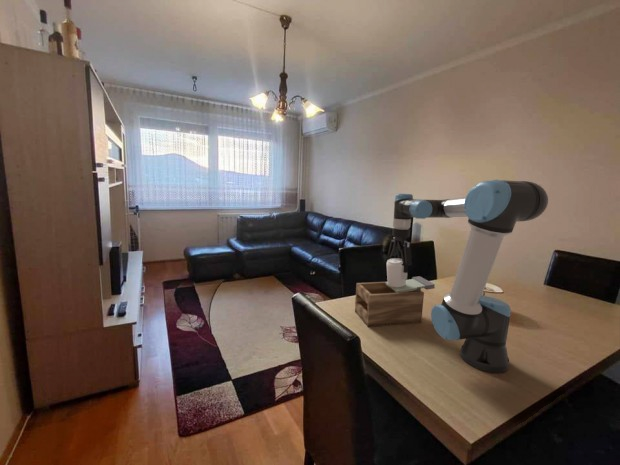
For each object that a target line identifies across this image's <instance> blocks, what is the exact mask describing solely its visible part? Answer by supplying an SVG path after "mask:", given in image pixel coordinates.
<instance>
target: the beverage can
mask: <svg viewBox="0 0 620 465" xmlns="http://www.w3.org/2000/svg"><path fill="white" fill-rule="evenodd" d="M402 264H403V262H402V258H398V257H396V258H392V259H390V258H389V259H387V261H386V265H385V266H386V276H387V278H386V280H387V282H388V285H389V286H391V287H395V288H399V287H402V286H405V285H406V280H407V279H401V268H402Z"/></svg>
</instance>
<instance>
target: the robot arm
mask: <svg viewBox="0 0 620 465" xmlns="http://www.w3.org/2000/svg"><path fill="white" fill-rule="evenodd" d="M393 205H394V206H393V207H394V208H393V222H392V227H393V228H392V233H391V234H392V237H390V244H389V248H388V253H387V256H388V257H389V259H392V258H397V255H398V252H400V255H401V259H402V262H403V264H402V268H401V279H406V280H408V273H409V266H411V265H413V262H412V250H411V249H412V248H411V247H412V242H410V241H408V238H410V236H411V229H410V228H411V223H412V218H415V219H424V220H425V219H429V218H431V219H432V218H433V219H434V218H439V219H440V218H443V219H445V218H446V219H450V218H464V217H467V218H468V220H467V224H469V226H470V228H471V230H469V234H468V239H467V240H466V244H465V248H464V249H463V253H462V256H461V259H460V262H459V265H458V269H457V271H456V275H455V279H454V281H453V284H452V286H451V290H450V292H446V293H445V294H444V296H443V299H442V302H441V304H440V303H439V304H437V303H436V304H435V305H433V307H431V311H430V318H431V322H432V326H433V327H434V330H435V331H436V333H437V334H438V335H439V336H440V338H442V339H444V340H446V341H458V340H464V339H465V340H464V341H463V344H462V345H461V346H460V353H459V355H460V357H461V359H462V360H463V361H464V362H465V363H466V364H468V365H470V366H472V367H474V368H475V369H477V370H480V371H483V372H488V373H492V374H502V373H506V372H507V371H508V370H509V368H510V358H509V356H508V351H507V350H508V349H507V339H508V332H509V326H510V322H511V321H510V319H511V316H512V315H511V310H512V309H511V307H510V305H509V304H508V303H506V302H505V301H503V300H501V299H498V298H495V297H493V296H492V297H491V296H488V295H483V292H484V290H485V287H486V284H487V281H488V280H489V277H490V274H491V273H492V268H493V266H494V263H495V261H496V258H497V256H498V253H499V250H500V248H501V244H502V243H503V239H504V237H505V236H507V235H510V234H513V230H514V229H515V227H516V226H515V225H516V223H517V222H529V221H532V220H534V219H536V218H538V217H540V216H541V215H542V214H543V213H544V212H546V210H547V207H548V205H549V196H548V193H547V191H546V190H545V189H544V188H543V187H542V186H541V185H539V184H537V183H536V182H532V181H529V180H528V181H526V180H521V181H520V180H507V179H506V180H505V179H492V180H491V179H490V180H484V181H483V180H482V181H480V182H478V183H477V184H475V185H473V186H472V188H470V190H469V191H467V194H466V196H465V197H457V198H456V197H455V198H448V199H416V198H414V195H413V194H411V193H396V195H395V198H394V204H393Z"/></svg>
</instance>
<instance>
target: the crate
mask: <svg viewBox="0 0 620 465" xmlns="http://www.w3.org/2000/svg"><path fill="white" fill-rule="evenodd" d="M385 282H386V281H373V282H370V281H369V282H356V285H355V286H356V287H355V302H354V303H355V304H354V312H355V314H357V316H358V317H359V318H360V320H361V321H363V323H364V325H366V327H367V328H370V327H371V328H373V327H382V326H383V327H384V326H396V325H406V324H407V325H408V324H409V325H410V324H420V323H422V320H423V319H422V318H423V310H424V309H423V307H424V306H423V305H424V296H425V292H424V291H422V288H420V287H417V290H414V291H408V292H399V293H397V292H395V291H394V290H393V289H391V288H390V287H389V286H387V285H386V284H385Z"/></svg>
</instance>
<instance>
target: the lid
mask: <svg viewBox="0 0 620 465" xmlns="http://www.w3.org/2000/svg"><path fill="white" fill-rule="evenodd" d="M384 282H385V284H386V285H387V286H389V285H388V281H384ZM389 287H390V288H391V289H393V290H394V291H395V292H397V293H399V292H408V291H414V290H417V287H420V288H421V289H425V290H433V289H435V288H436V287H435V284H434V283H433V282H431V281H429V280H427V279H426V278H423V277H422V276H412V277H411V279H410V278H409V279H406V285H405V286H402V287H399V288H395V287H391V286H389Z"/></svg>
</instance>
